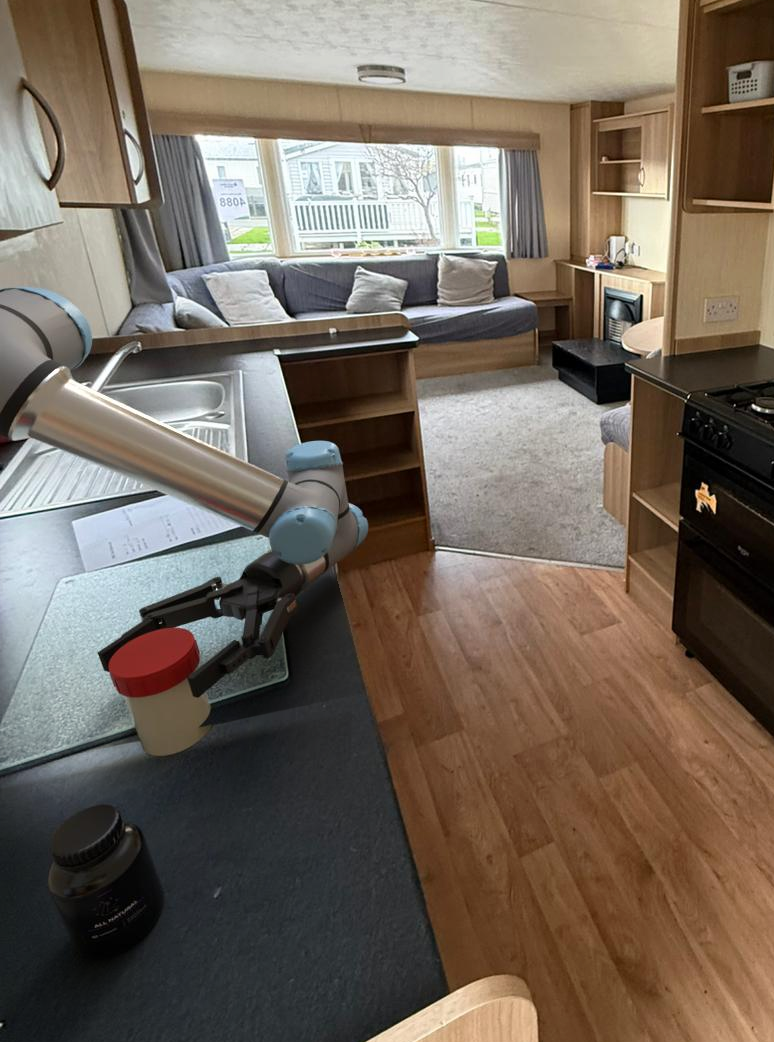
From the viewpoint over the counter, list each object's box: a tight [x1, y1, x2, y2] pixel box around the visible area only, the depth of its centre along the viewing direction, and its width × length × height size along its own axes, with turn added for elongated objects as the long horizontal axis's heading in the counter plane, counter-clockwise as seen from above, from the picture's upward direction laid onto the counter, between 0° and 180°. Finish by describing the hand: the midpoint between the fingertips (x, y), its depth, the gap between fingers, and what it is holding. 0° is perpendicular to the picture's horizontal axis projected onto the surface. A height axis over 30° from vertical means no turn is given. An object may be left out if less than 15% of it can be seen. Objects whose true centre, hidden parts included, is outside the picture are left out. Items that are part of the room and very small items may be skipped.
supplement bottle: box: [46, 803, 165, 960], centre depth 57 cm, size 7×7×12 cm
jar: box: [123, 664, 213, 757], centre depth 77 cm, size 8×8×12 cm
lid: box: [108, 627, 201, 698], centre depth 75 cm, size 8×8×3 cm
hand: (146, 675), depth 74 cm, fingers open, 13 cm apart
